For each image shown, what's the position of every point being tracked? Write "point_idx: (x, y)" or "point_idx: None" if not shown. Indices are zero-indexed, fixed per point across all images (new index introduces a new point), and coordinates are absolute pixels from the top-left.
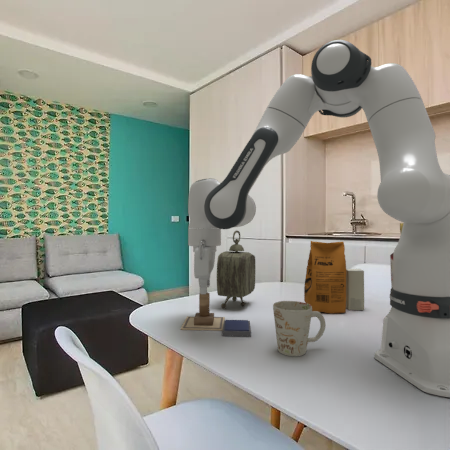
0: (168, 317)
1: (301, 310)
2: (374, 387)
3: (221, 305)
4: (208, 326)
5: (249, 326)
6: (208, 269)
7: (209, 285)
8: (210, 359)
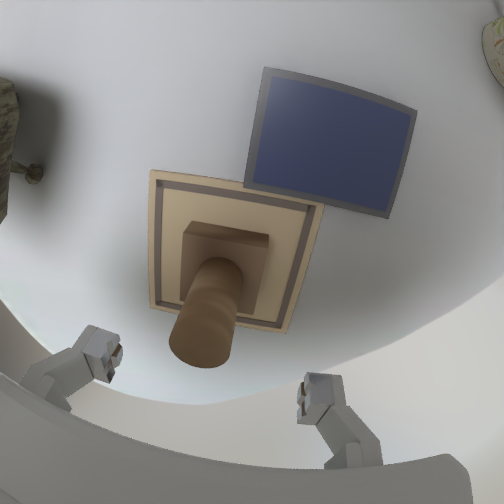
0: (158, 349)
1: None
2: None
3: (35, 183)
4: (277, 250)
5: (352, 91)
6: (471, 494)
7: (108, 335)
8: (495, 267)
